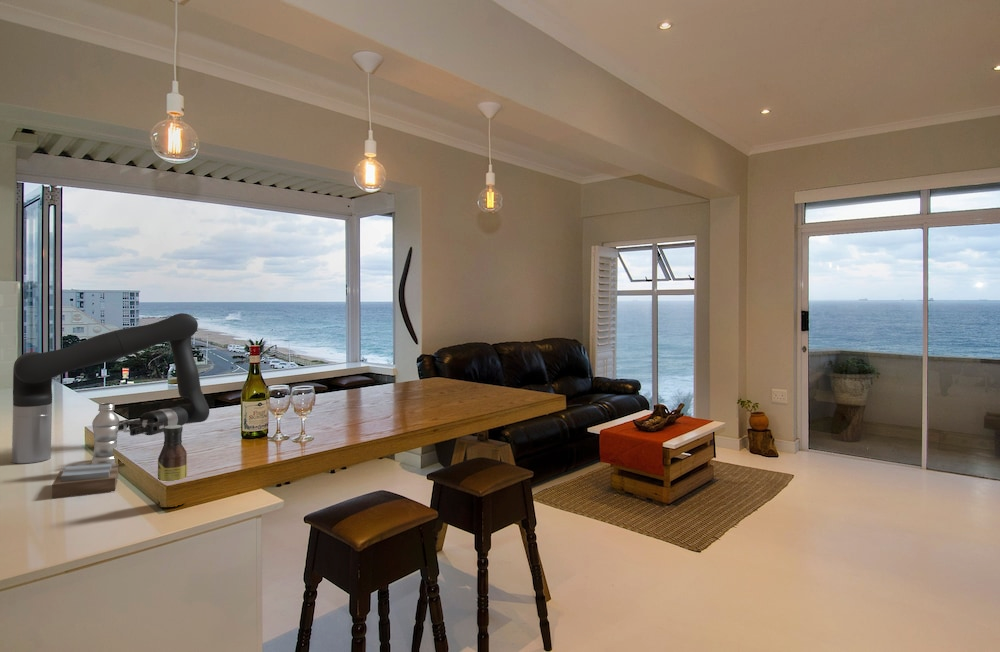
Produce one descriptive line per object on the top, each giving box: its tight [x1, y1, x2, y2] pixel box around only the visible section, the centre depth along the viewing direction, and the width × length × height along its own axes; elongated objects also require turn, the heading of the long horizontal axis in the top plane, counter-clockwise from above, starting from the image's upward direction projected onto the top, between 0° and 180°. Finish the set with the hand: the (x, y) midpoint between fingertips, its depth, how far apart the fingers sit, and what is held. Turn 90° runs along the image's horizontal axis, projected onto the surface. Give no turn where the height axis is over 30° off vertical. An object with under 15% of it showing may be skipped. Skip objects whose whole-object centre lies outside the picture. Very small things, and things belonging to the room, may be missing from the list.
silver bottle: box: [91, 402, 121, 466], centre depth 161 cm, size 6×7×20 cm
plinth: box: [51, 462, 119, 499], centre depth 147 cm, size 13×13×5 cm
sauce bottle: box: [157, 425, 188, 508], centre depth 136 cm, size 6×6×20 cm
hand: (118, 431), depth 165 cm, fingers open, 8 cm apart
